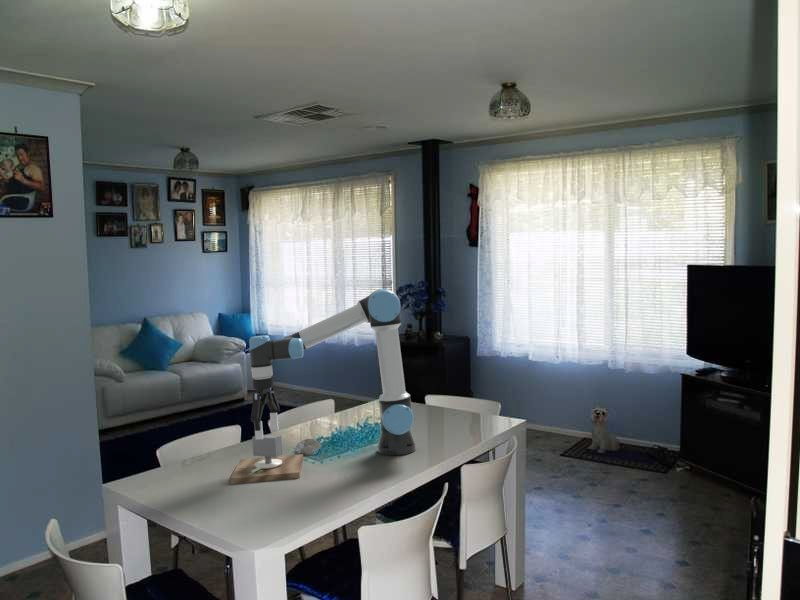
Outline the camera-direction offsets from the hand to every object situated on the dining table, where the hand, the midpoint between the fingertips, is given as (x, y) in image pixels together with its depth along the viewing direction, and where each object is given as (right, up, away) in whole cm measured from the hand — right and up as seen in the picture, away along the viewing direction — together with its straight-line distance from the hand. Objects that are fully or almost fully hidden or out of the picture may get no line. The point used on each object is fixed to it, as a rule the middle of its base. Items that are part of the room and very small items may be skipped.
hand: (267, 434), depth 235 cm
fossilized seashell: (+12, -13, +23) cm, 29 cm away
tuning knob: (-1, -11, -2) cm, 12 cm away
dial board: (0, -14, 0) cm, 14 cm away
